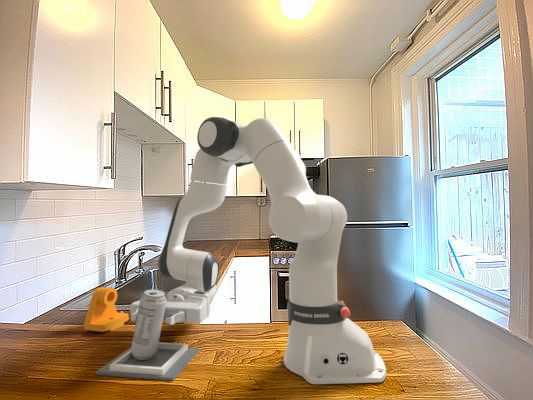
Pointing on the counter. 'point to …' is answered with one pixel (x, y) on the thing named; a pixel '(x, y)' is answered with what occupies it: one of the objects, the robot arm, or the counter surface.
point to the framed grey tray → (151, 363)
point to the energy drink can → (148, 324)
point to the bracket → (104, 311)
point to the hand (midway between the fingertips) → (150, 319)
